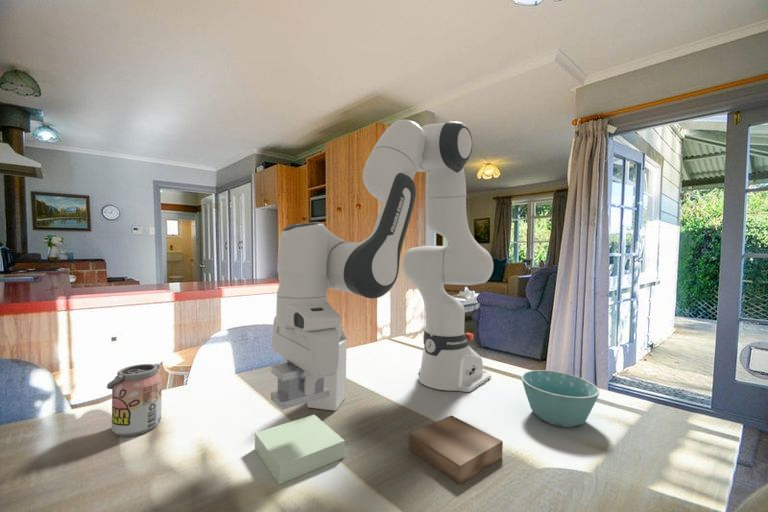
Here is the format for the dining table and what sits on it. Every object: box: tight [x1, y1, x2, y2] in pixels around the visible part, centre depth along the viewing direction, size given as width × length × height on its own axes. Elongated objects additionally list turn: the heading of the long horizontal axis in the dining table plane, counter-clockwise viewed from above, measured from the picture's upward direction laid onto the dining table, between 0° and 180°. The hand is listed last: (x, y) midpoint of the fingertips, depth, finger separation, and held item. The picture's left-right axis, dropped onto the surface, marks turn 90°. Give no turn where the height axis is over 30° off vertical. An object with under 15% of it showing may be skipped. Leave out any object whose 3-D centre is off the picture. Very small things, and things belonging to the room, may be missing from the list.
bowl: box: [521, 369, 600, 428], centre depth 77 cm, size 16×16×8 cm
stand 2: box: [408, 414, 504, 485], centre depth 63 cm, size 12×12×3 cm
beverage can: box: [106, 363, 163, 438], centre depth 69 cm, size 9×8×12 cm
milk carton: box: [306, 325, 348, 411], centre depth 82 cm, size 7×7×19 cm
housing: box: [270, 362, 329, 411], centre depth 61 cm, size 5×9×6 cm, turn 129°
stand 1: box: [254, 414, 346, 485], centre depth 62 cm, size 12×12×3 cm
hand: (300, 387), depth 61 cm, fingers closed on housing, 5 cm apart
